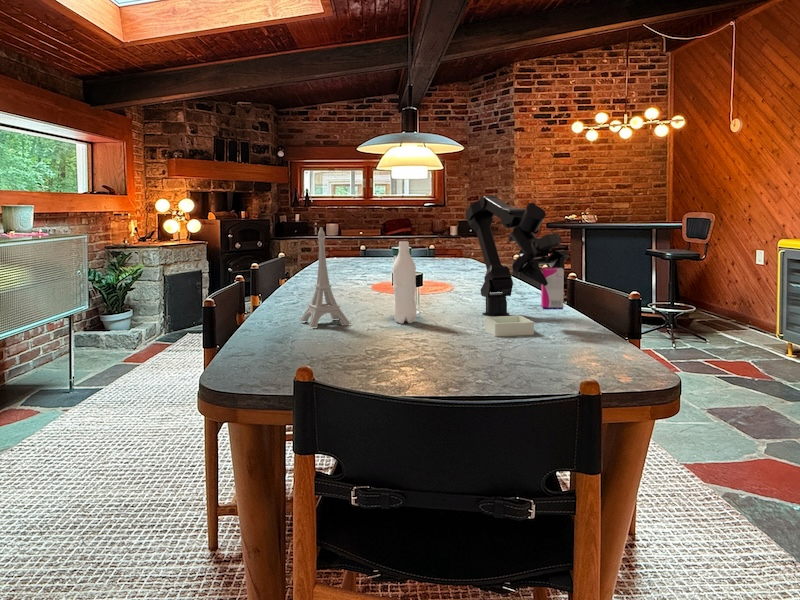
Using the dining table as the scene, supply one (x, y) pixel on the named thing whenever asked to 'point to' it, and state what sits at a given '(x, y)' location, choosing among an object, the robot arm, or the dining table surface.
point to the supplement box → (553, 288)
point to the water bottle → (404, 285)
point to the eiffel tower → (317, 306)
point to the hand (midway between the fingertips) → (556, 283)
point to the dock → (509, 325)
